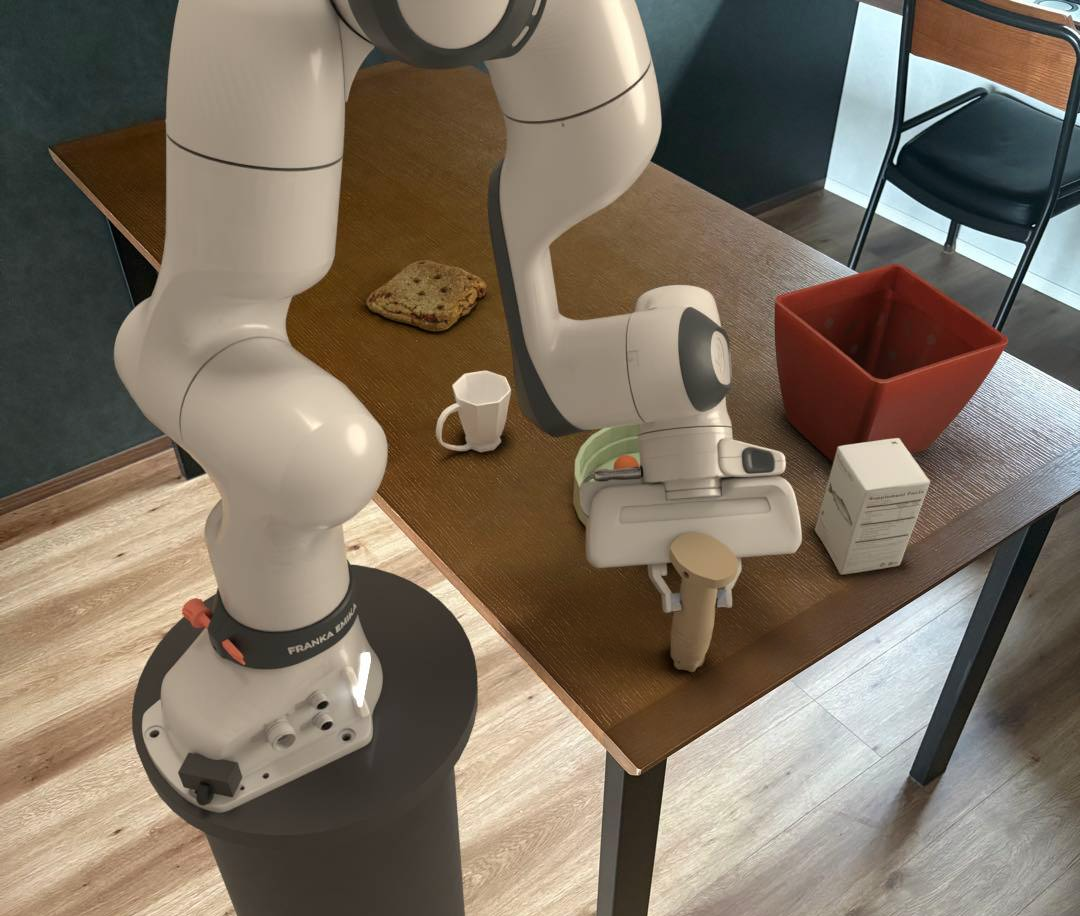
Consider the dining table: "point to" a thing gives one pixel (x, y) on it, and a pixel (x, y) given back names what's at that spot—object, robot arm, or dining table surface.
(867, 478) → the white packaging box
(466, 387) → the cup
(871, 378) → the flower pot
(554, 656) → the dining table surface
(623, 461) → the ball
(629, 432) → the bowl
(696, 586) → the handle
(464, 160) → the dining table surface
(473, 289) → the pastry
